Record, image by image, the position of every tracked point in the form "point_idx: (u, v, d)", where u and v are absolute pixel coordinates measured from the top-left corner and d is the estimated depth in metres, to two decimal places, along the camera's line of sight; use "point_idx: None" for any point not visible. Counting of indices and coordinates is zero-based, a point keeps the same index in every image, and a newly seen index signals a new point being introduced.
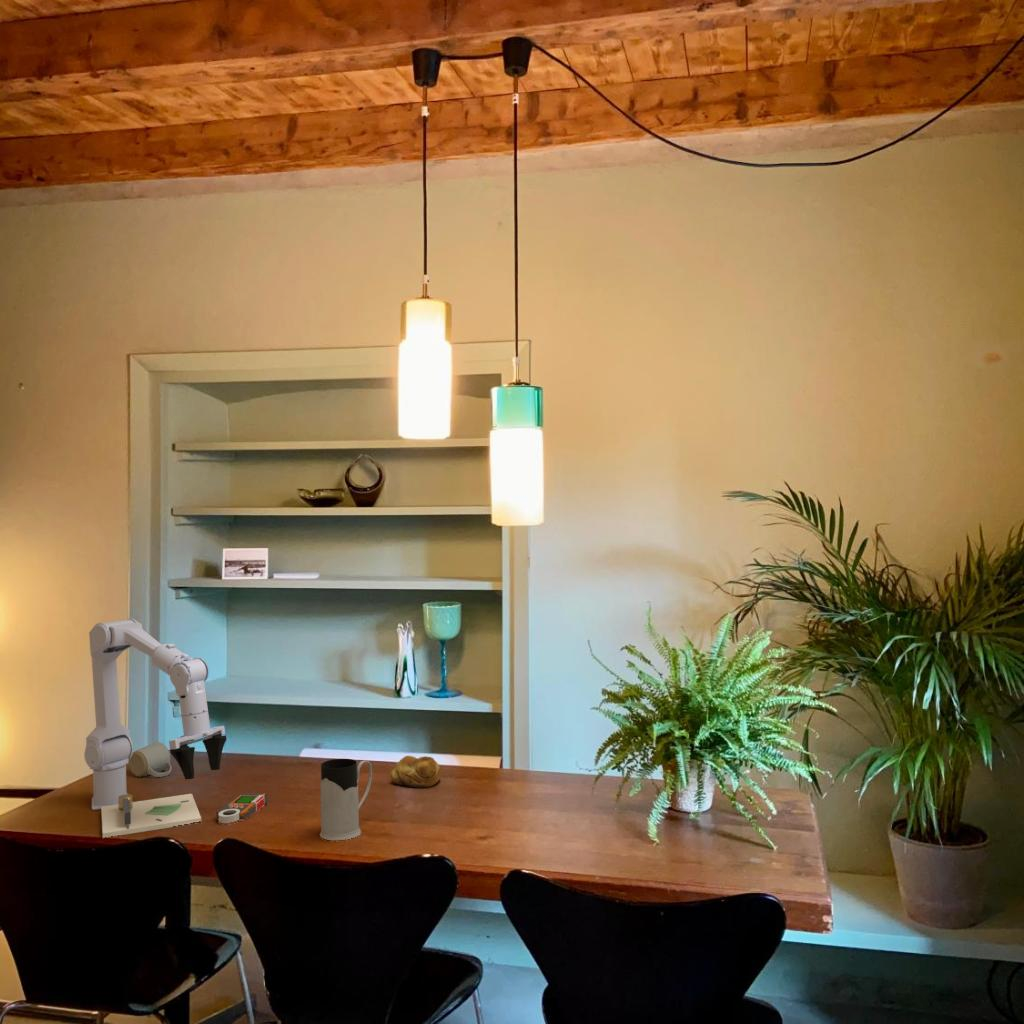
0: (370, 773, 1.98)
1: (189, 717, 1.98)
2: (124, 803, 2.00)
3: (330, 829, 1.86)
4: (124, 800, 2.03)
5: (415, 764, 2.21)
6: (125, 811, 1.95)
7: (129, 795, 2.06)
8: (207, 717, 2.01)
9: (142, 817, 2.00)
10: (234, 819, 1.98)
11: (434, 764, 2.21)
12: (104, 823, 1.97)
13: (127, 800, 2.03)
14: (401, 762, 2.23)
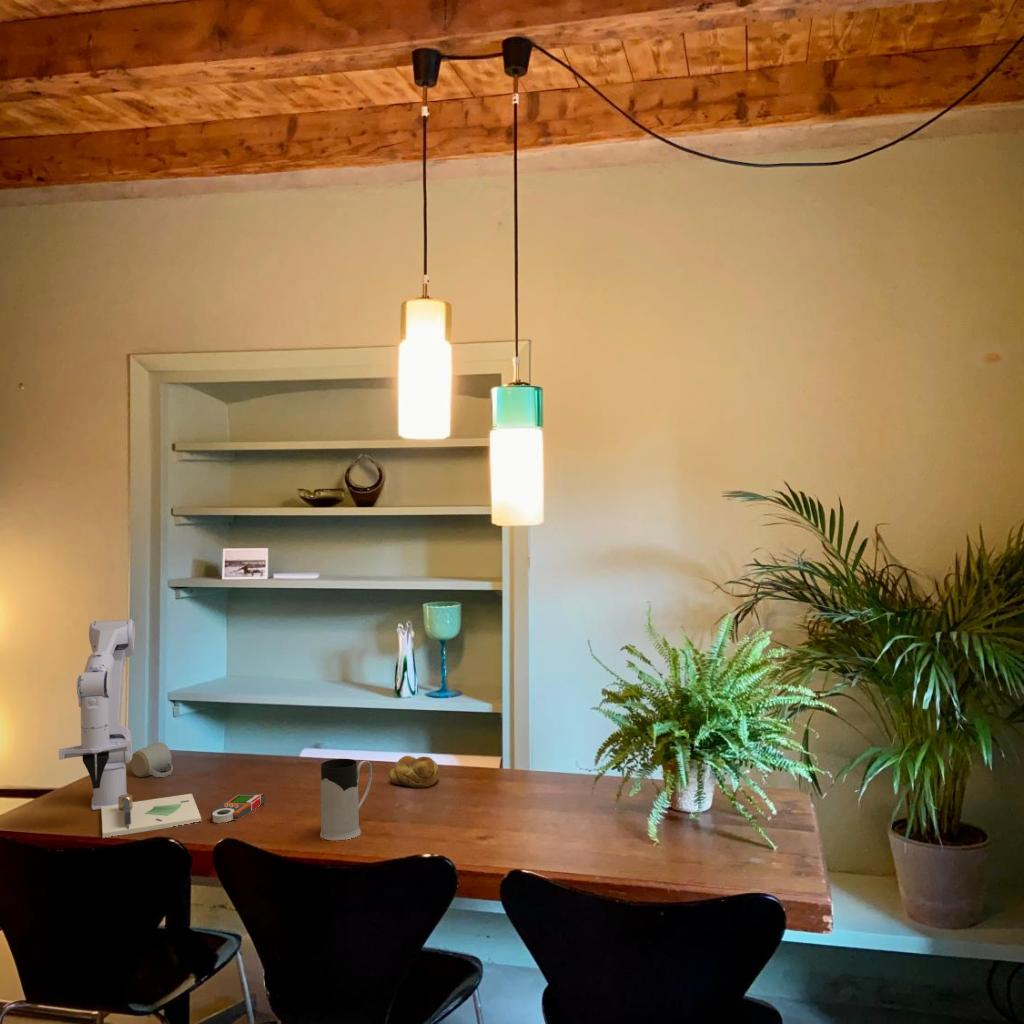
0: (370, 773, 1.98)
1: (82, 730, 1.96)
2: (124, 803, 2.00)
3: (330, 829, 1.86)
4: (124, 800, 2.03)
5: (413, 764, 2.21)
6: (125, 811, 1.95)
7: (129, 795, 2.06)
8: (100, 733, 1.97)
9: (142, 817, 2.00)
10: (227, 819, 1.98)
11: (432, 764, 2.21)
12: (104, 823, 1.97)
13: (127, 800, 2.03)
14: (399, 762, 2.23)
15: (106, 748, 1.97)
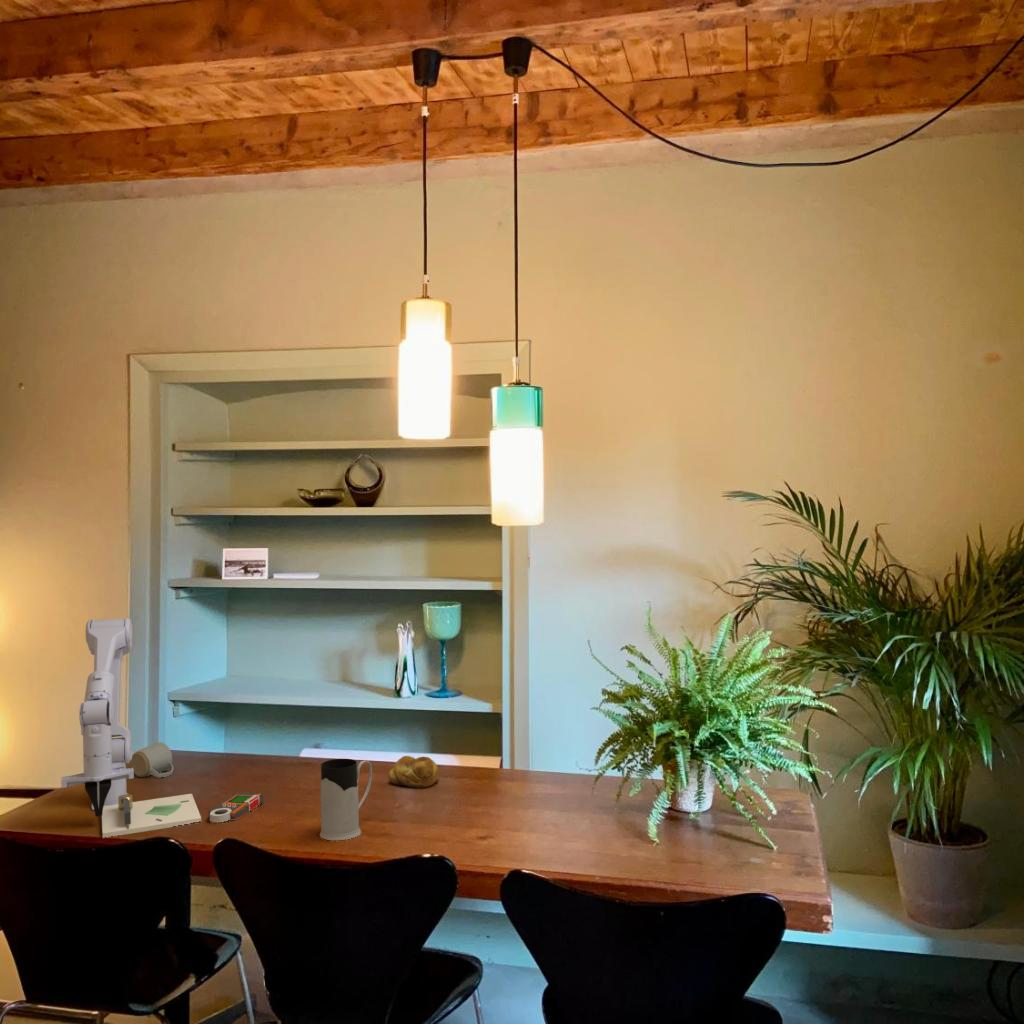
0: (370, 773, 1.98)
1: (84, 758, 1.96)
2: (124, 803, 2.00)
3: (330, 829, 1.86)
4: (124, 800, 2.03)
5: (412, 764, 2.21)
6: (125, 811, 1.95)
7: (129, 795, 2.06)
8: (102, 761, 1.97)
9: (142, 817, 2.00)
10: (224, 818, 1.99)
11: (431, 764, 2.21)
12: (104, 823, 1.97)
13: (127, 800, 2.03)
14: (399, 762, 2.23)
15: (108, 776, 1.97)
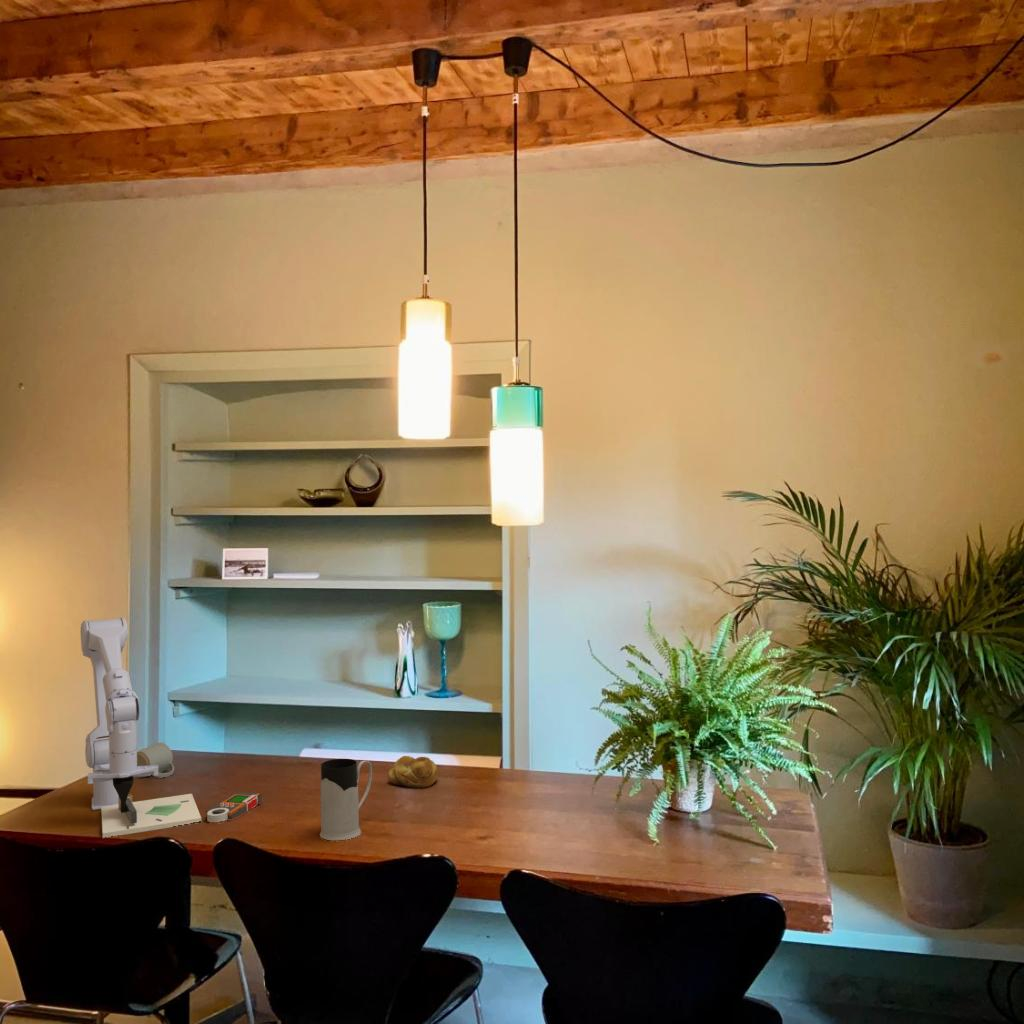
0: (370, 773, 1.98)
1: (110, 755, 1.99)
2: (127, 803, 2.01)
3: (330, 829, 1.86)
4: None
5: (411, 764, 2.21)
6: (131, 810, 1.95)
7: (129, 795, 2.06)
8: (128, 758, 1.99)
9: (142, 817, 2.00)
10: (222, 818, 1.99)
11: (430, 764, 2.21)
12: (104, 823, 1.97)
13: (129, 800, 2.03)
14: (398, 762, 2.23)
15: (134, 773, 1.99)
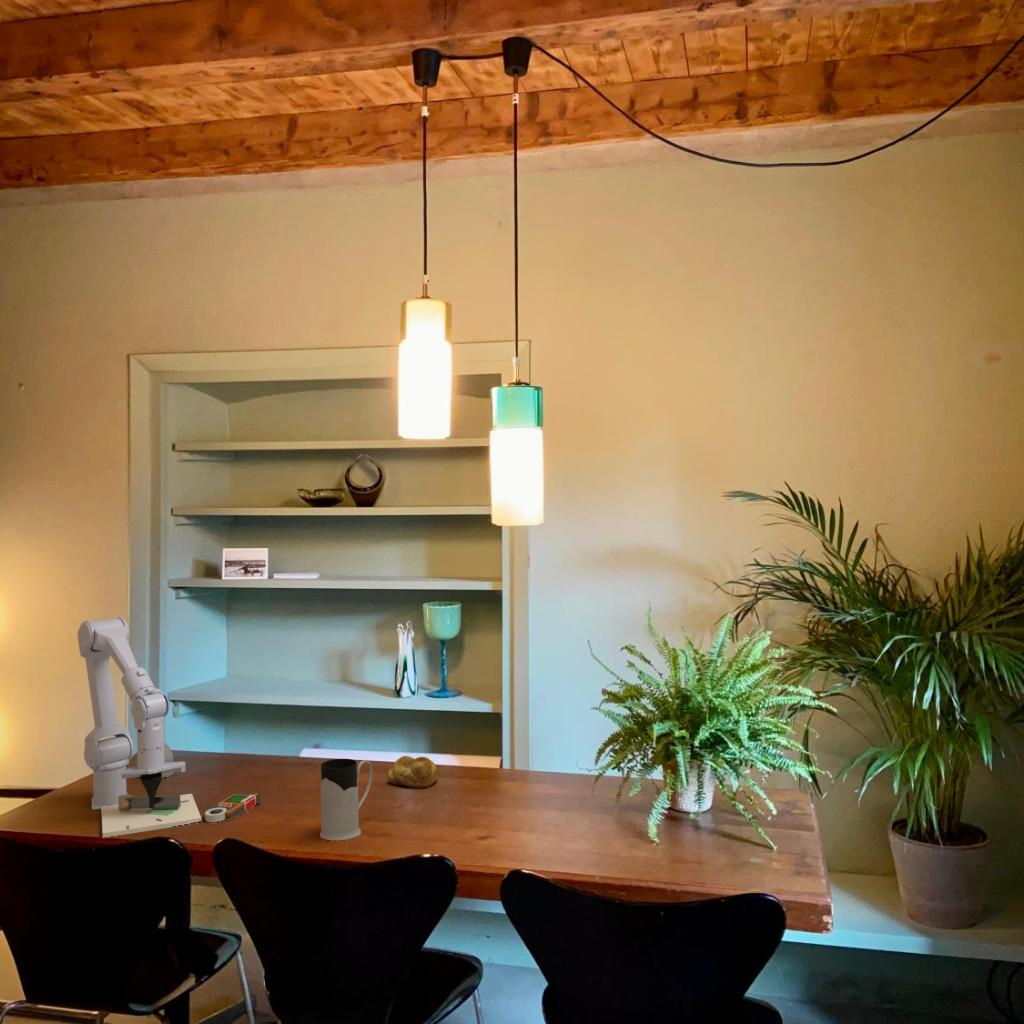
0: (370, 773, 1.98)
1: (138, 751, 2.01)
2: (147, 796, 2.05)
3: (330, 829, 1.86)
4: (137, 796, 2.05)
5: (411, 764, 2.21)
6: (174, 796, 2.05)
7: (126, 795, 2.06)
8: (156, 755, 2.01)
9: (142, 817, 2.00)
10: (219, 818, 1.99)
11: (430, 765, 2.20)
12: (104, 823, 1.97)
13: (140, 796, 2.06)
14: (397, 762, 2.23)
15: (162, 769, 2.02)
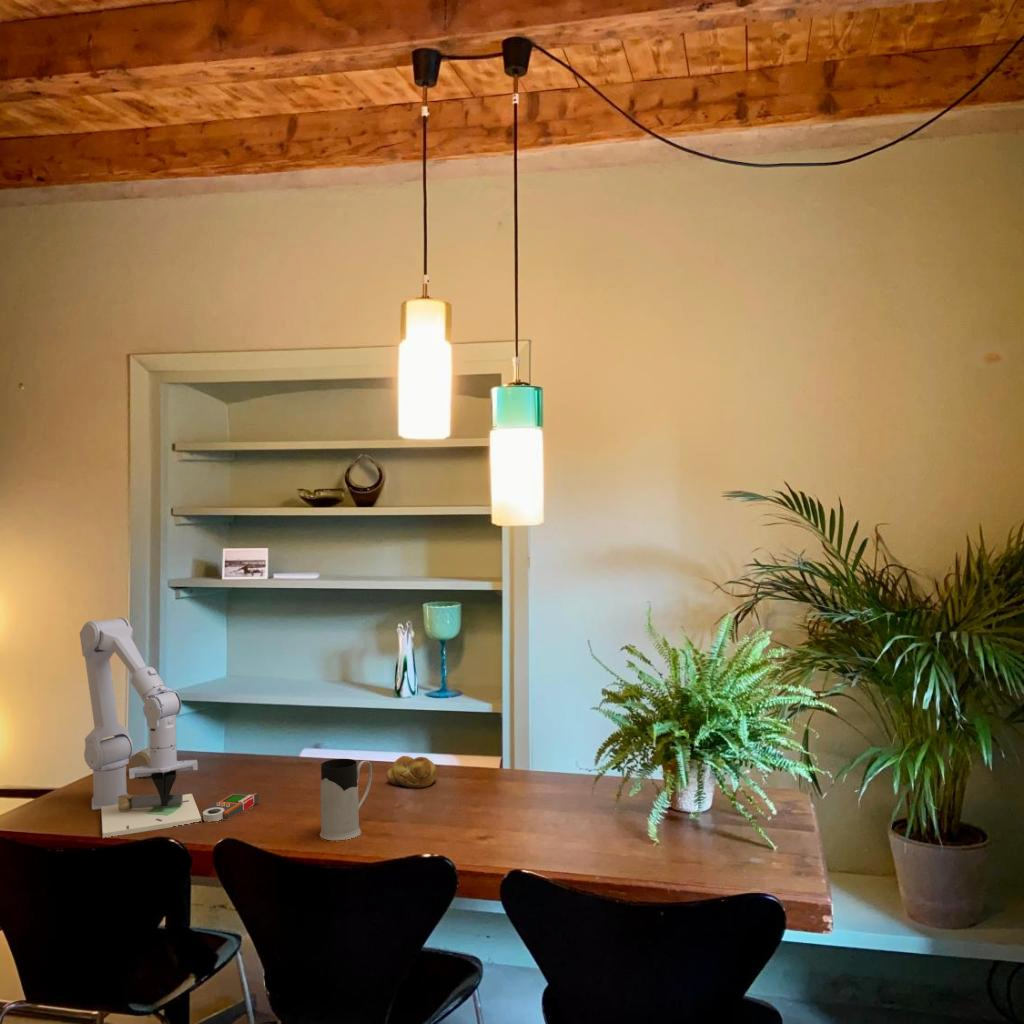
0: (370, 773, 1.98)
1: (151, 750, 2.02)
2: (148, 795, 2.06)
3: (330, 829, 1.86)
4: (138, 796, 2.06)
5: (410, 764, 2.21)
6: (177, 794, 2.07)
7: (125, 795, 2.06)
8: (169, 753, 2.02)
9: (142, 817, 2.00)
10: (217, 818, 1.99)
11: (429, 765, 2.20)
12: (104, 823, 1.97)
13: (140, 795, 2.06)
14: (397, 762, 2.23)
15: (174, 767, 2.03)
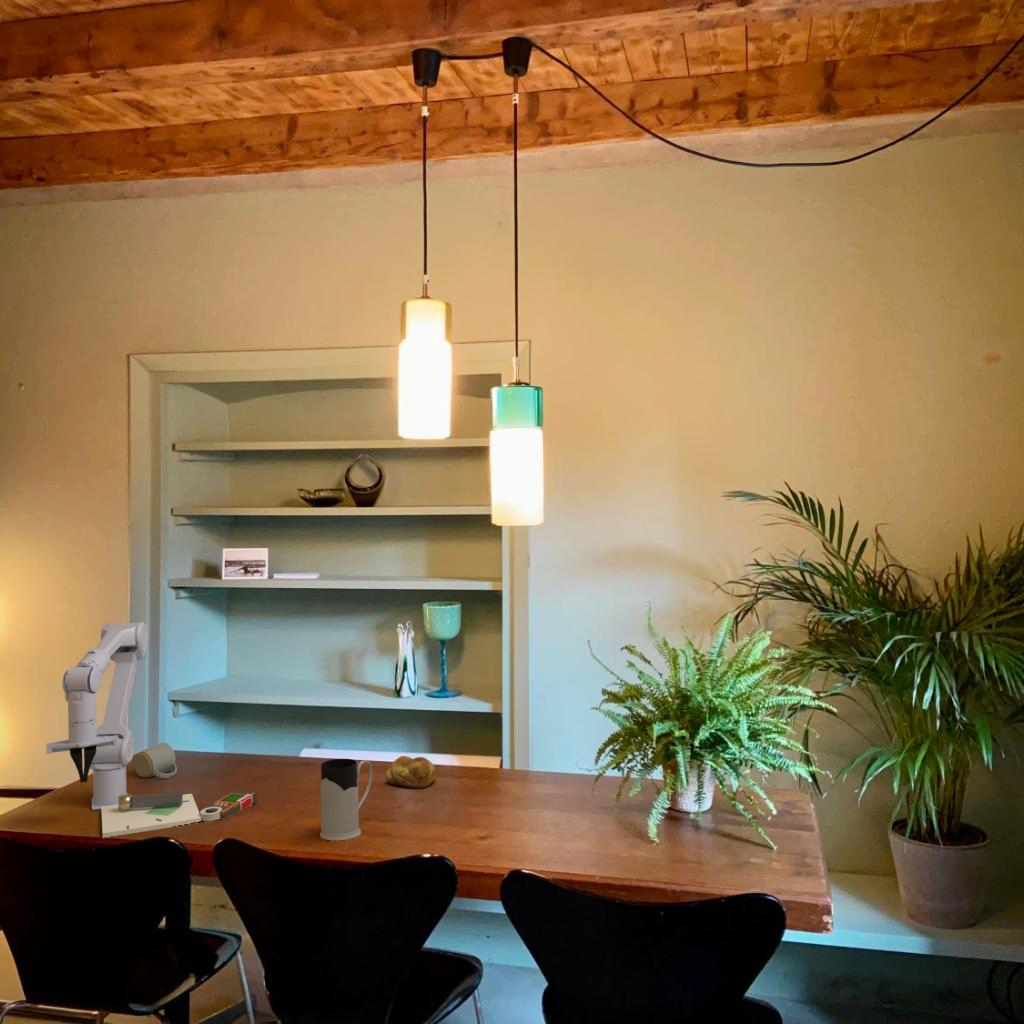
0: (370, 773, 1.98)
1: (69, 724, 1.98)
2: (149, 795, 2.06)
3: (330, 829, 1.86)
4: (138, 796, 2.06)
5: (408, 764, 2.21)
6: (177, 794, 2.07)
7: (125, 795, 2.06)
8: (88, 728, 1.99)
9: (142, 817, 2.00)
10: (214, 817, 2.00)
11: (427, 765, 2.20)
12: (104, 823, 1.97)
13: (140, 795, 2.06)
14: (395, 762, 2.23)
15: (93, 742, 1.99)
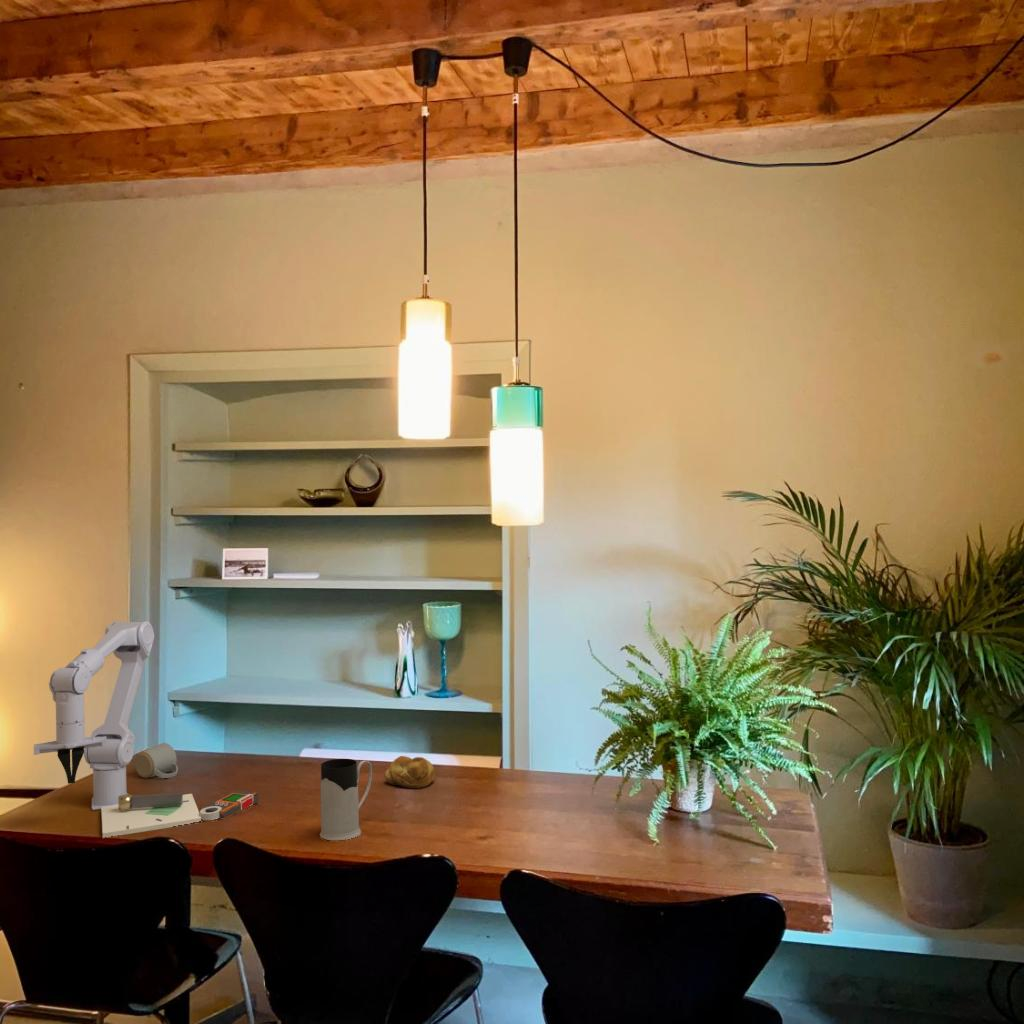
0: (370, 773, 1.98)
1: (57, 725, 1.98)
2: (149, 795, 2.06)
3: (330, 829, 1.86)
4: (138, 796, 2.06)
5: (407, 764, 2.21)
6: (177, 794, 2.07)
7: (125, 795, 2.06)
8: (75, 729, 1.98)
9: (142, 817, 2.00)
10: (213, 817, 2.00)
11: (426, 765, 2.20)
12: (104, 823, 1.97)
13: (140, 795, 2.06)
14: (394, 762, 2.23)
15: (81, 743, 1.99)
